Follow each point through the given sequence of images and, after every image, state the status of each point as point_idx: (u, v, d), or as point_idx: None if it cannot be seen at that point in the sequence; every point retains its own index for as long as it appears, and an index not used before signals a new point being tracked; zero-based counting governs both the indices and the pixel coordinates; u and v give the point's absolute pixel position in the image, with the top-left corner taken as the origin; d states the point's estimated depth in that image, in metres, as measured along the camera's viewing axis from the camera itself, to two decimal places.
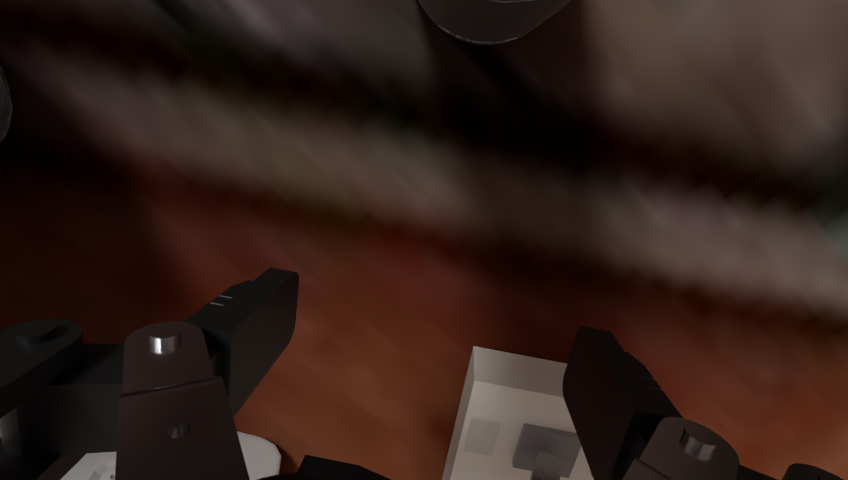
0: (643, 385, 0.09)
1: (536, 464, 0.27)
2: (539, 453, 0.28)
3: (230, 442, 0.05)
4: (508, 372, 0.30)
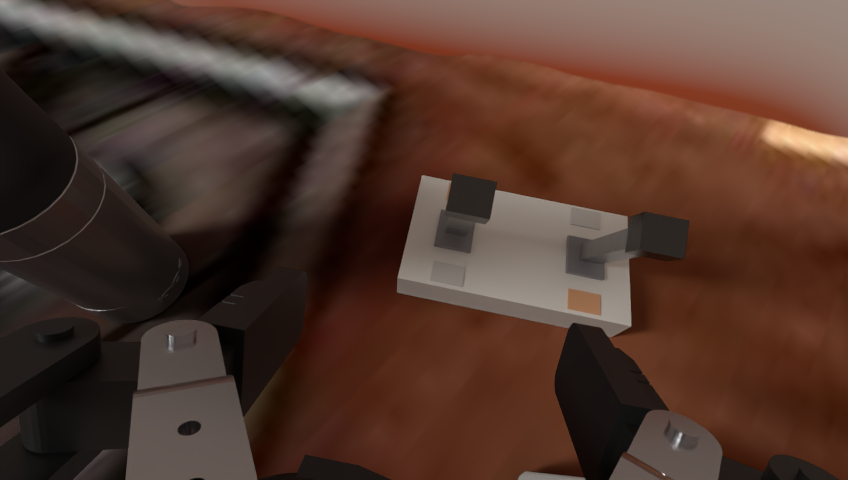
0: (631, 379, 0.09)
1: None
2: (445, 231, 0.40)
3: (239, 441, 0.05)
4: None
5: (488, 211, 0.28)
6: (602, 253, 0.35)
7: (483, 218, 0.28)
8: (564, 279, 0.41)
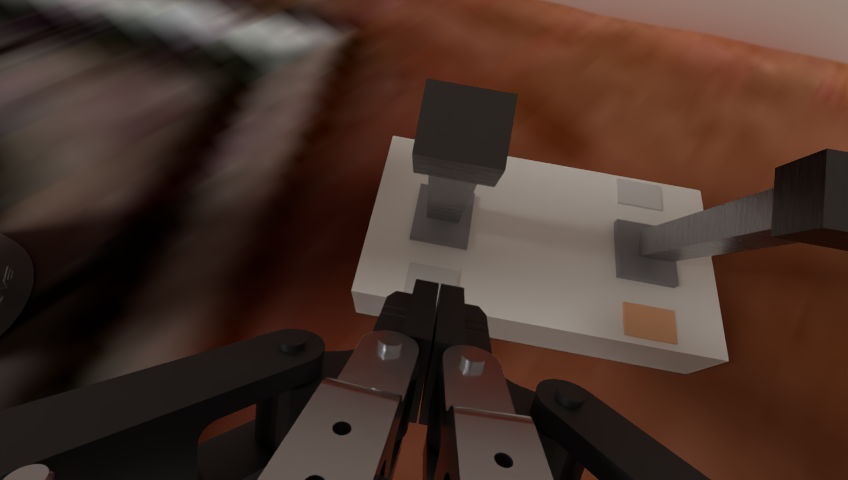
0: (460, 325, 0.10)
1: None
2: None
3: (370, 462, 0.05)
4: None
5: (501, 154, 0.13)
6: (694, 243, 0.20)
7: (491, 169, 0.14)
8: (615, 287, 0.26)
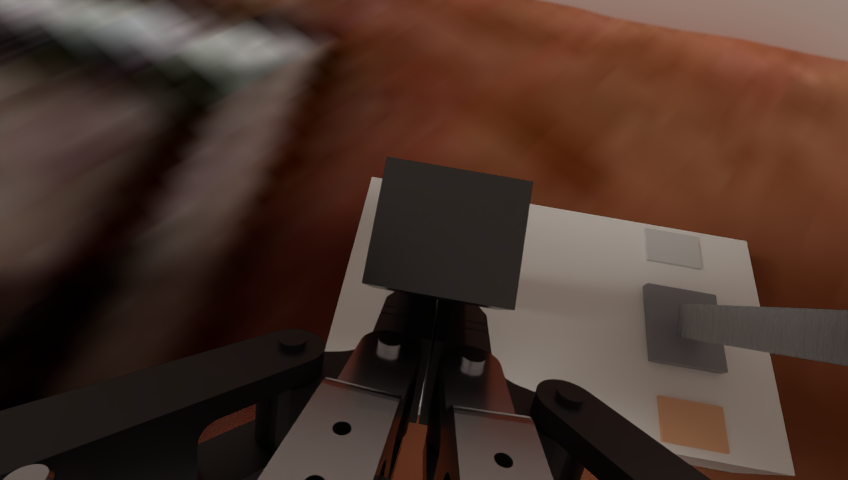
0: (460, 325, 0.10)
1: None
2: None
3: (370, 462, 0.05)
4: None
5: (508, 282, 0.08)
6: (765, 349, 0.15)
7: (492, 305, 0.08)
8: (647, 375, 0.21)
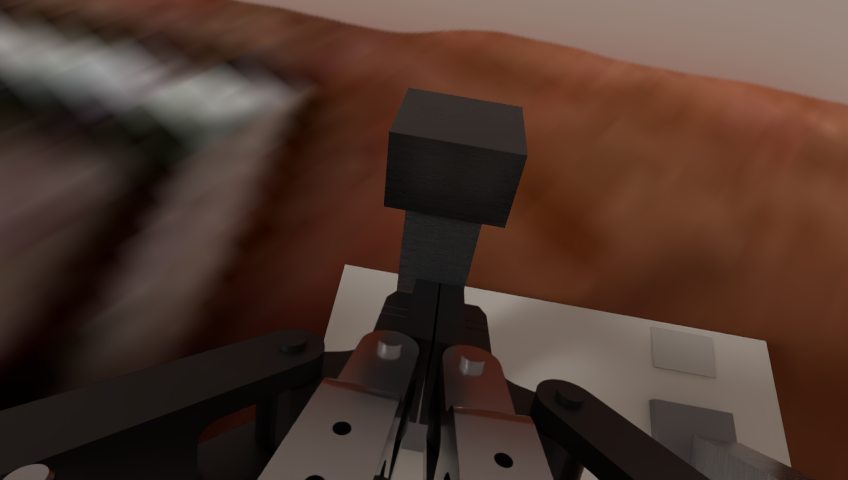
0: (460, 325, 0.10)
1: None
2: None
3: (370, 462, 0.05)
4: None
5: (517, 143, 0.09)
6: None
7: (506, 158, 0.09)
8: None
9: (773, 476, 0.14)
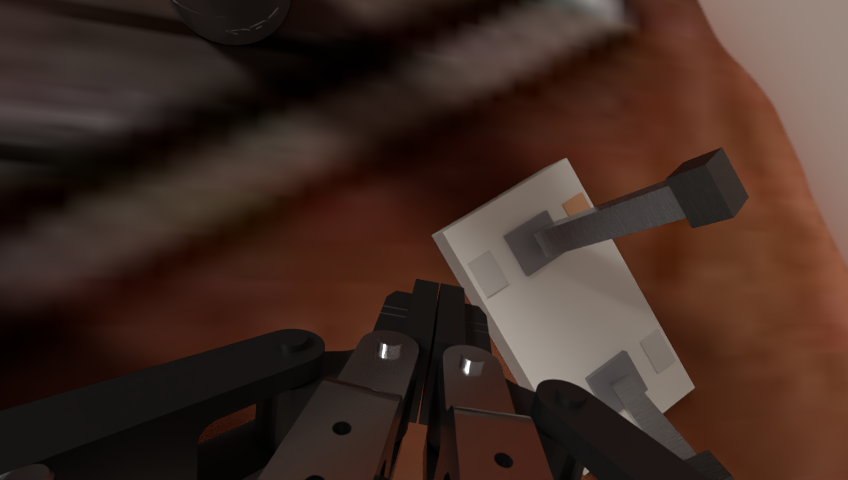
0: (460, 325, 0.10)
1: (547, 228, 0.30)
2: (537, 232, 0.31)
3: (370, 462, 0.05)
4: (464, 217, 0.34)
5: (735, 209, 0.21)
6: (637, 420, 0.27)
7: (726, 211, 0.21)
8: (576, 382, 0.33)
9: (651, 401, 0.28)
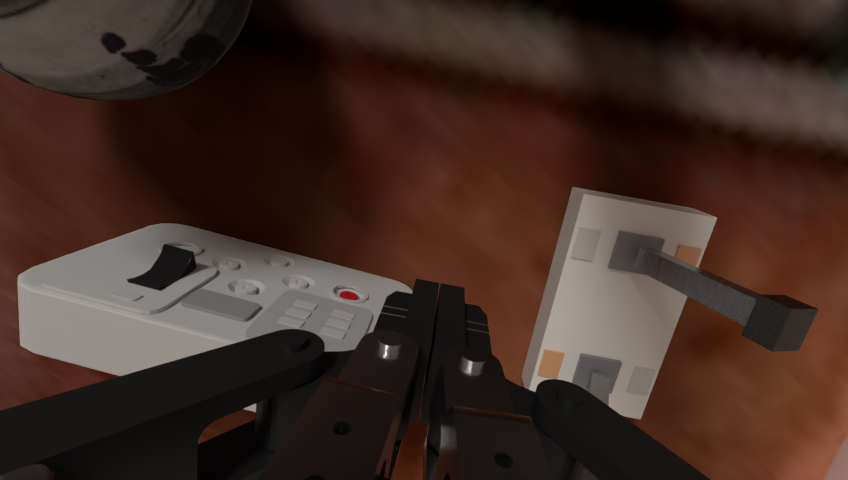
0: (460, 325, 0.10)
1: (653, 252, 0.36)
2: (644, 248, 0.37)
3: (370, 462, 0.05)
4: (605, 195, 0.40)
5: (778, 348, 0.27)
6: None
7: (772, 344, 0.27)
8: (573, 350, 0.43)
9: (608, 397, 0.37)
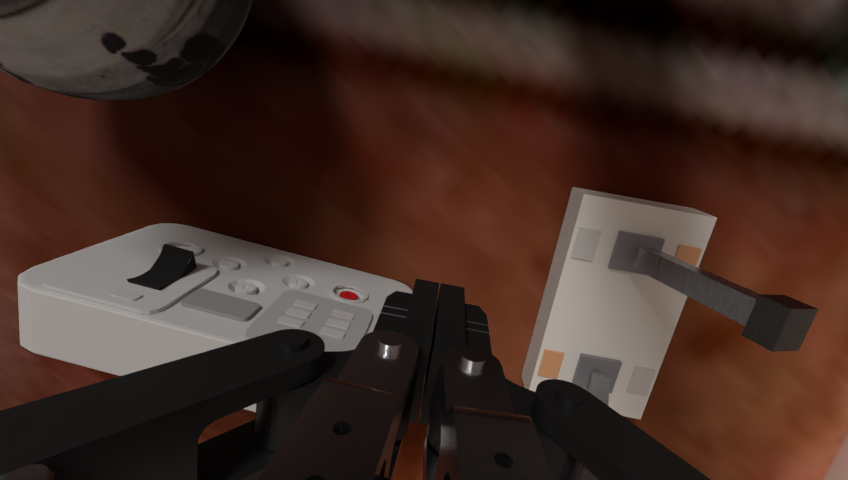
0: (460, 325, 0.10)
1: (653, 252, 0.36)
2: (644, 248, 0.37)
3: (370, 462, 0.05)
4: (605, 195, 0.40)
5: (778, 348, 0.27)
6: None
7: (772, 344, 0.27)
8: (573, 350, 0.43)
9: (608, 397, 0.37)
